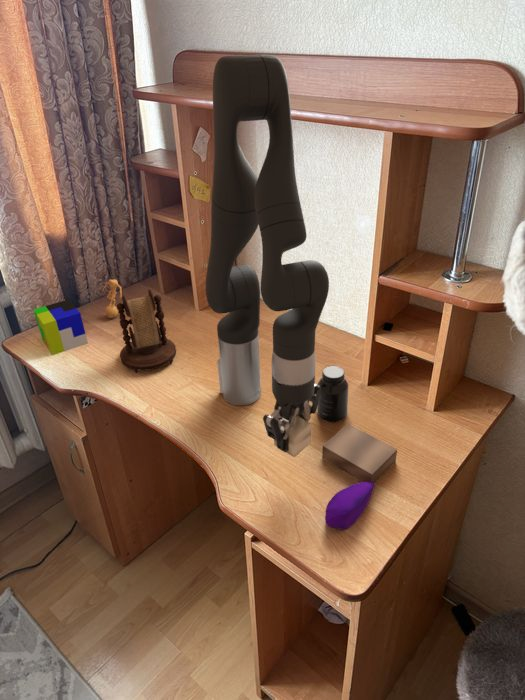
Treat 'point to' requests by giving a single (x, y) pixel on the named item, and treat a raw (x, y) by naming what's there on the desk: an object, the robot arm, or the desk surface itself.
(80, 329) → the puzzle toy
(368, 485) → the purple teardrop shape
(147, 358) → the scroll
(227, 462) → the desk surface
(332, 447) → the walnut slab
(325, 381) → the supplement bottle
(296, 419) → the oak cube
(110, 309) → the figurine
